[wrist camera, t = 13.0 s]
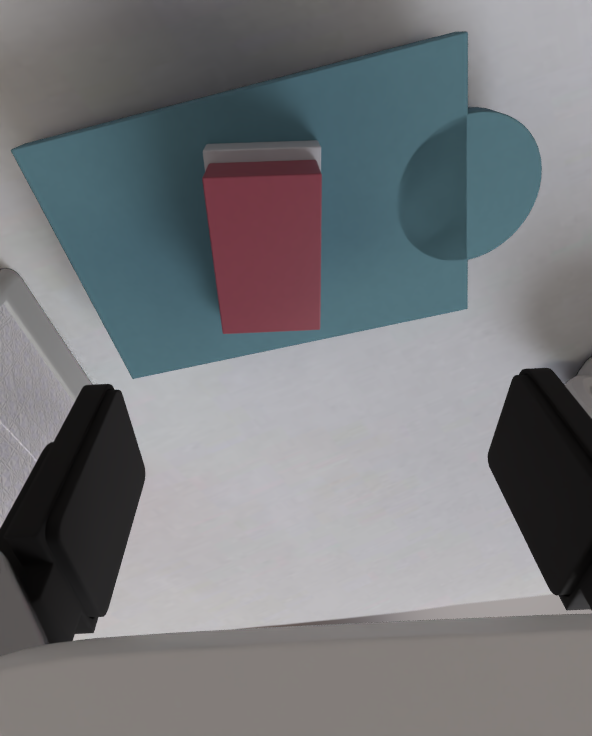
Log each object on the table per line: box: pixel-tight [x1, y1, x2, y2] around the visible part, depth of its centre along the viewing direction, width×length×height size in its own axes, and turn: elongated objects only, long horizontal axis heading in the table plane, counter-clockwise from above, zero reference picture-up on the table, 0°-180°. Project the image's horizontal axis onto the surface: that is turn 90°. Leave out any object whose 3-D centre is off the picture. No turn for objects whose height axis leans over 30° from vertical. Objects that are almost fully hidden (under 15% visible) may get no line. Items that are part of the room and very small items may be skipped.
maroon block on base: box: [202, 140, 322, 334], centre depth 22 cm, size 9×5×4 cm, turn 1°
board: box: [11, 32, 542, 379], centre depth 25 cm, size 24×13×4 cm, turn 102°
